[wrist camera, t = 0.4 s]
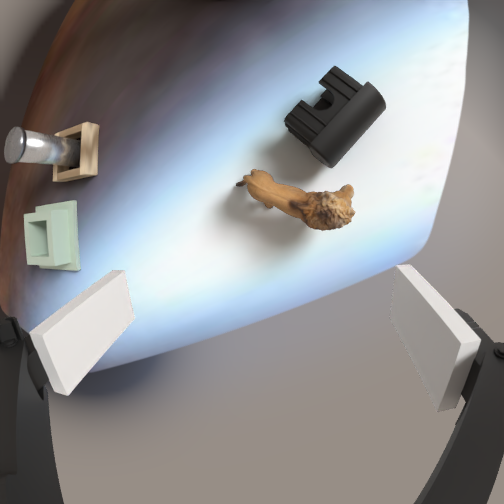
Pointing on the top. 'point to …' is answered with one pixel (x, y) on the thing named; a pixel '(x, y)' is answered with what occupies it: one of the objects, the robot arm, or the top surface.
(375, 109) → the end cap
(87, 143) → the mount
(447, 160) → the top surface
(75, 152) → the silver capped cylinder
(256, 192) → the lion figurine
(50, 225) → the socket
